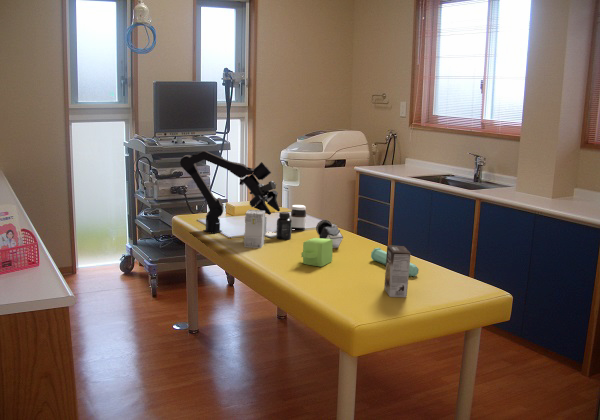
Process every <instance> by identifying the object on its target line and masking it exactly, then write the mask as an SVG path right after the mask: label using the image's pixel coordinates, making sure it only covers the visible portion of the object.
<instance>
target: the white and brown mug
mask: <svg viewBox="0 0 600 420" xmlns="http://www.w3.org/2000/svg"><path fill="white" fill-rule="evenodd" d="M306 208H307V207H306V205H303V204H293V205H291V211H290V217H289V218H290V219H291V220H292V226H291V230H292V229H295V230H302V231H305V230H306V228H307V224H306V223H307V209H306ZM295 230H294V231H295Z"/></svg>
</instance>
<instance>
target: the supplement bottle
mask: <svg viewBox="0 0 600 420" xmlns="http://www.w3.org/2000/svg"><path fill="white" fill-rule="evenodd" d="M278 214H279V215H278V217H279V218H277V220H276V231H275V232H276V237H275V238H277V240H280V241H288V240H291V237H292V229H291V226H292V220H291V219H290V218H289V217H290V214H291V212H287V211H281V212H280V211H279V213H278Z"/></svg>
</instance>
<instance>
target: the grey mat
mask: <svg viewBox="0 0 600 420" xmlns="http://www.w3.org/2000/svg"><path fill="white" fill-rule="evenodd" d="M266 232H267V231H266ZM274 232H275V231H273V233H272V232H269V233H268V232H267V233H266V234H265V235H264V238H265V237H266V238H269V239H272V238H276V233H274Z"/></svg>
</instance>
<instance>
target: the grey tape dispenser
mask: <svg viewBox="0 0 600 420" xmlns="http://www.w3.org/2000/svg"><path fill="white" fill-rule="evenodd" d="M315 227H316V228H315V230H316V233H317V235H318V236H319V237H318V238H323V239H332V240H333V249H338V248H340V244H341V243H342V241H343V239H344V236H343V235H342V233H341V230H340V229H338V228H339V227H338V226H336V225H333V224H332V223H331V221H329V220H327V219H323V220H319V222H317V224H316V226H315Z"/></svg>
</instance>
